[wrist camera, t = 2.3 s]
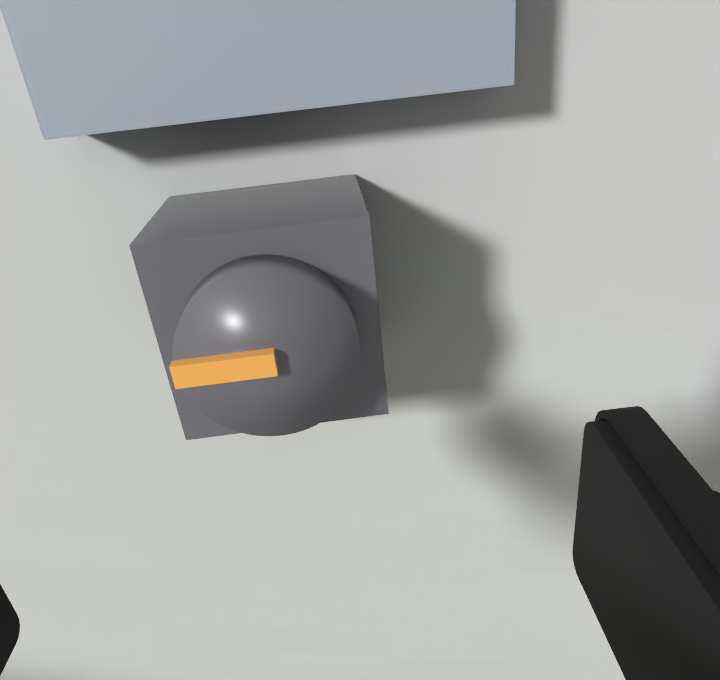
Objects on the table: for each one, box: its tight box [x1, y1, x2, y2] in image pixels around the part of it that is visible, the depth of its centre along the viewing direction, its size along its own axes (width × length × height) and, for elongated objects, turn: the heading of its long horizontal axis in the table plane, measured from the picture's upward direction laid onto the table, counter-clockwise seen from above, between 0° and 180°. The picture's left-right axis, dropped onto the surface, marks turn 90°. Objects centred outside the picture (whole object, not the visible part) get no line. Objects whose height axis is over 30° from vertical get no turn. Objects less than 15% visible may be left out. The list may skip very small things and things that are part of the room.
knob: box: [130, 174, 388, 440], centre depth 17 cm, size 6×6×6 cm
